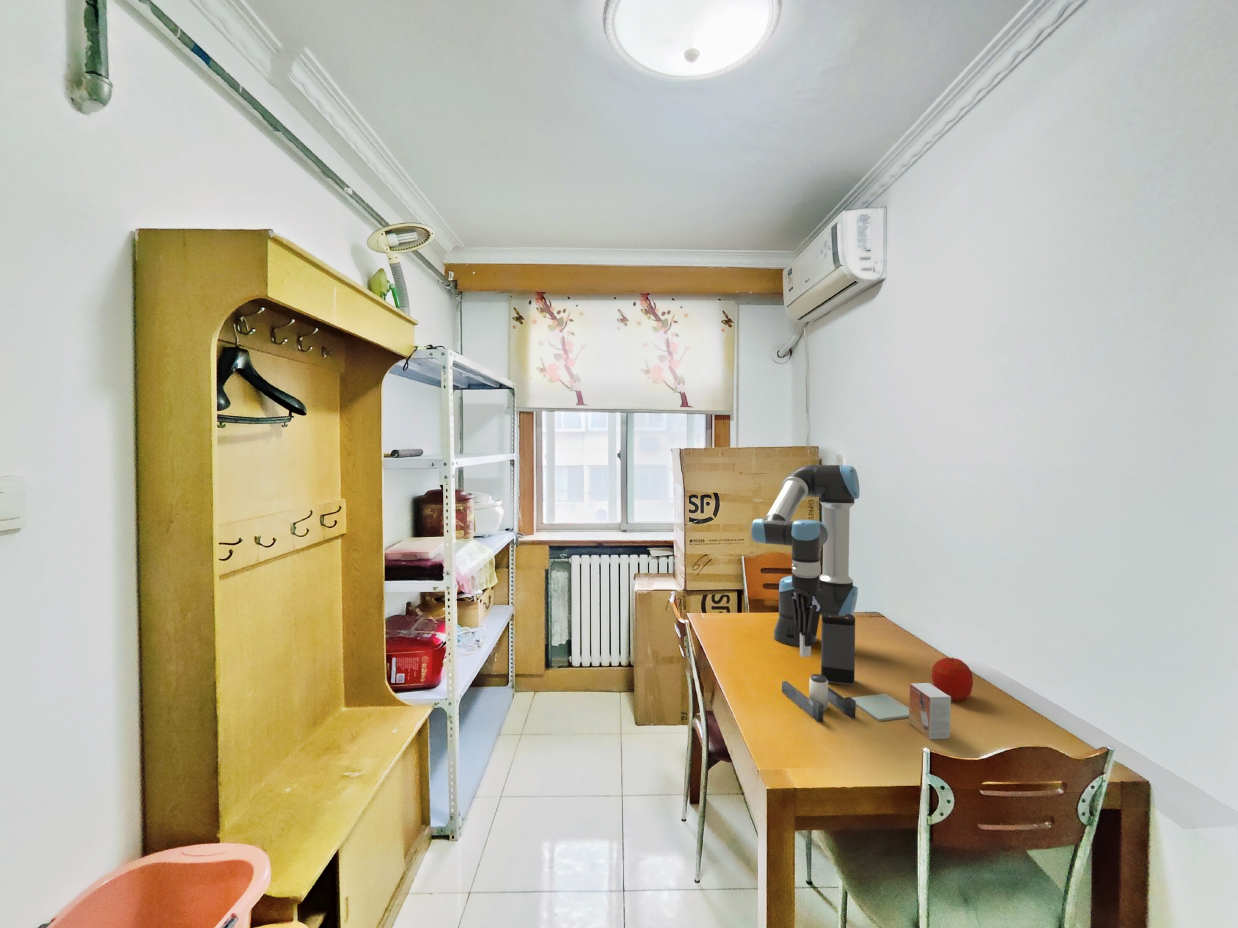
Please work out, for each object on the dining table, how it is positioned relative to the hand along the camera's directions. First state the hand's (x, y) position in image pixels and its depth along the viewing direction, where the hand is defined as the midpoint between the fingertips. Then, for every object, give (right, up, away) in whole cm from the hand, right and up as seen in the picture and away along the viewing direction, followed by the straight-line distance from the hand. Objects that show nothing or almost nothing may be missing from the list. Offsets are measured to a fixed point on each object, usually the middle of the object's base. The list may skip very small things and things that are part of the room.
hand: (805, 655), depth 154 cm
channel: (+1, -11, -6) cm, 13 cm away
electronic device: (+13, -11, +9) cm, 19 cm away
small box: (+24, -12, -20) cm, 33 cm away
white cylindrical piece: (+1, -11, -7) cm, 13 cm away
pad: (+18, -11, -8) cm, 23 cm away
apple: (+41, -11, -2) cm, 43 cm away
